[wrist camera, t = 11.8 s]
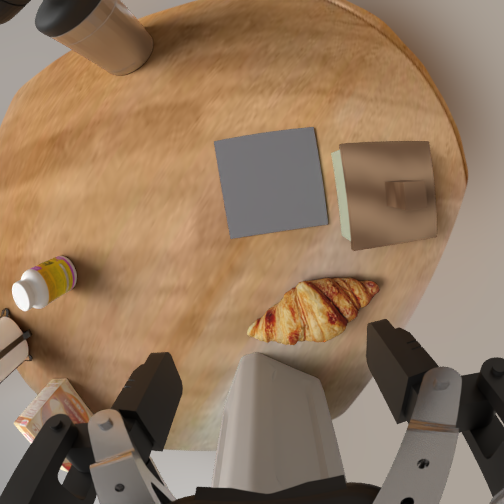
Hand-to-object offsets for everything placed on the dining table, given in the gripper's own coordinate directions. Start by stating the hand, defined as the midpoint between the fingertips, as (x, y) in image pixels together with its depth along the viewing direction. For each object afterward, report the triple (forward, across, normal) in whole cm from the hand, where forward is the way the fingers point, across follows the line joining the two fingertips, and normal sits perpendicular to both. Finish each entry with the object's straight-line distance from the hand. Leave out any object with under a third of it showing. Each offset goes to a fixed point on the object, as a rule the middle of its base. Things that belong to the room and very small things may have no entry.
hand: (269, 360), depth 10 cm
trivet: (+30, -2, -6) cm, 31 cm away
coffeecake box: (+30, +53, +34) cm, 70 cm away
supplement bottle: (+30, +37, +1) cm, 47 cm away
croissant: (+30, -5, +13) cm, 33 cm away
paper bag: (+30, +4, +27) cm, 41 cm away
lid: (+24, -17, -3) cm, 30 cm away
